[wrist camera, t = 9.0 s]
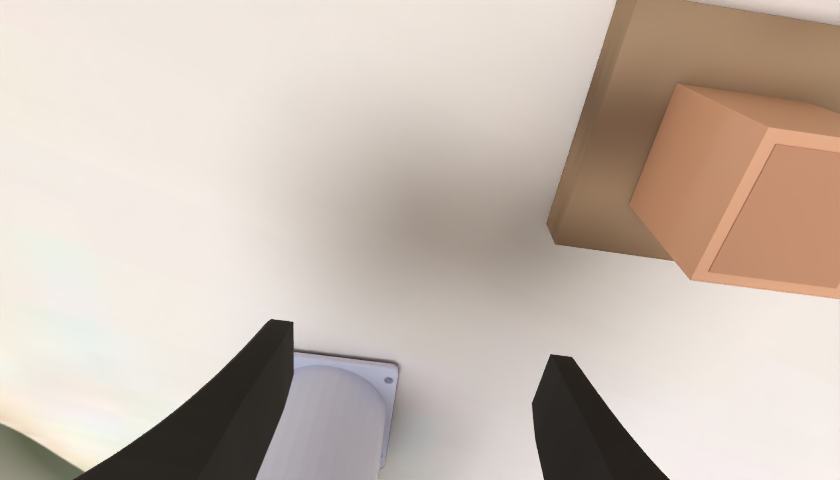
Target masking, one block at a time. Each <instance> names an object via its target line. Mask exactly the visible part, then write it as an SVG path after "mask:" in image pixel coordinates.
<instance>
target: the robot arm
mask: <svg viewBox="0 0 840 480" xmlns="http://www.w3.org/2000/svg"><path fill="white" fill-rule="evenodd" d="M398 372H399V370H398V367H397V366H396V365H394V364H389V363H381V362H373V361H365V360H356V359H348V358H340V357H331V356H323V355H315V354H306V353H298V352H294V340H293V322H290V321H282V320H274V319H271V320H269V321H268V322H267V323H266V324H265V325H264V326H263V327H262V328H261V329H260V331H259V332H258V333H257V334H256V335H255V336H254V337H253V338H252V339H251V340H250V342H249V343H248V344H247V345H246V346H245V347H244V348H243V349H242V350H241V351H240V352H239V353H238V354H237V355H236V356H235V357H234V358H233V359H232V360H231V361H230V362H229V363H228V364H227V365H226V366H225V367H224V368H223V369H222V370H221V371H220V372H219V373H218V374H217V375H216V376H215V377H214V378H212V379H211V380H210V381H209V382H208V383H207V384H206V385H205V386H203V387H202V388H201V389H200V390H199V391H198V392H197V393H196V394H194V395H193V396H192V397H191V398H190V399H189V400H188V401H186V402H185V403H184V404H183V405H181V406H180V407H179V408H178V409H177V410H175V411H174V412H173V413H172V414H170V415H169V416H168V417H166V418H165V419H164V420H162V421H161V422H160V423H159V424H157V425H156V426H155V427H153V428H152V429H150V430H149V431H148V432H146V433H145V434H143V435H142V436H141V437H139V438H138V439H136V440H135V441H133V442H132V443H131V444H129V445H128V446H126V447H125V448H123V449H122V450H120V451H119V452H117V453H116V454H114V455H113V456H111V457H109V458H108V459H106V460H105V461H103V462H101V463H100V464H98V465H96V466H95V467H93V468H91V469H90V470H88V471H87V472H85V473H83V474H82V475H80V476H78V477H77V478H75V479H73V480H378V476H379V469H382V468H383V467H384V465H385V459H386V452H387V446H388V439H389V432H390V426H391V419H392V413H393V406H394V400H395V393H396V386H397V380H398ZM387 377H390V379H389V378H387ZM532 410H533V422H534V431H535V440H536V445H537V449H538V454H539V459H540V463H541V468H542V472H543V477H544V480H670V479H669V478H668V477H667V476H666V475H665V474H664V473H663V472H662V471H661V470H660V469H659V468H658V467H657V466H656V465H655V464H654V462H653V461H652V460H651V459H650V458H649V457H648V456H647V455H646V453H645V452H644V451H643V450H642V449H641V447H640V446H639V445H638V444H637V443H636V442H635V440H634V439H633V438H632V437H631V436H630V434H629V433H628V432H627V431H626V429H625V428H624V427H623V426H622V424H621V423H620V422H619V421H618V419H617V418H616V417H615V415H614V414H613V413H612V411H611V410H610V409H609V407H608V406H607V405H606V403H605V402H604V401H603V399H602V398H601V397H600V395H599V394H598V393H597V391H596V390H595V388H594V387H593V386H592V384H591V383H590V381H589V380H588V379H587V377H586V376H585V374H584V373H583V372H582V370H581V369H580V367H579V366H578V365H577V363H576V362H575V361H574V359H573V358H572V357H568V356H560V355H552V354H550V357H549V360H548V362H547V365H546V368H545V370H544V373H543V376H542V378H541V381H540V383H539V386H538V389H537V391H536V394H535V397H534V399H533V402H532Z"/></svg>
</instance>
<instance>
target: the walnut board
mask: <svg viewBox="0 0 840 480" xmlns="http://www.w3.org/2000/svg"><path fill="white" fill-rule="evenodd" d="M677 83H680V84H687V85H694V86H701V87H708V88H714V89H721V90H728V91H735V92H742V93H748V94H755V95H762V96H769V97H776V98H783V99H789V100H796V101H803V102H808V103H811V104H814V105H816V106H819V107H822V108H825V109H827V110H830V111H833V112H836V113H838V114H840V26H836V25H830V24H824V23H818V22H812V21H806V20H800V19H794V18H787V17H781V16H775V15H769V14H763V13H757V12H751V11H745V10H739V9H733V8H727V7H721V6H715V5H709V4H703V3H696V2H690V1H684V0H617V2H616V6H615V9H614V12H613V15H612V18H611V21H610V25H609V28H608V31H607V34H606V37H605V40H604V44H603V47H602V50H601V53H600V56H599V59H598V62H597V66H596V69H595V72H594V75H593V78H592V81H591V85H590V88H589V91H588V94H587V97H586V100H585V104H584V107H583V110H582V113H581V116H580V119H579V123H578V126H577V129H576V132H575V135H574V138H573V142H572V145H571V148H570V151H569V154H568V157H567V161H566V164H565V167H564V170H563V173H562V176H561V180H560V183H559V186H558V189H557V192H556V195H555V198H554V202H553V205H552V208H551V211H550V214H549V217H548V221H547V226H548V228H549V231H550V233H551V235H552V238H553V240H554V243H555V244H557V245H564V246H571V247H578V248H586V249H593V250H600V251H607V252H614V253H621V254H628V255H635V256H643V257H650V258H657V259H664V260H671V261H674V260H673V258H672V257H671V256H670V255H669V253H668V252H667V251H666V250H665V249H664V247H663V246H662V245H661V244H660V242H659V241H658V240H657V239H656V238H655V236H654V235H653V234H652V233H651V231H650V230H649V229H648V228H647V226H646V225H645V224H644V223H643V222H642V220H641V219H640V218H639V217H638V215H637V214H636V213H635V212H634V211H633V209H632V208H631V207H630V206H629V203H630V201H631V198H632V196H633V193H634V191H635V188H636V185H637V183H638V180H639V178H640V175H641V173H642V170H643V168H644V165H645V163H646V160H647V158H648V155H649V152H650V150H651V147H652V145H653V142H654V140H655V137H656V135H657V132H658V130H659V127H660V125H661V122H662V120H663V117H664V114H665V112H666V109H667V107H668V104H669V102H670V99H671V97H672V94H673V92H674V89H675V87H676V84H677Z"/></svg>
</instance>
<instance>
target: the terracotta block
mask: <svg viewBox="0 0 840 480" xmlns="http://www.w3.org/2000/svg"><path fill="white" fill-rule="evenodd" d="M629 206H630V207H631V208H632V209H633V211H634V212H635V213H636V214H637V215H638V217H639V218H640V219H641V220H642V222H643V223H644V224H645V225H646V226H647V228H648V229H649V230H650V231H651V233H652V234H653V235H654V236H655V238H656V239H657V240H658V241H659V242H660V244H661V245H662V246H663V247H664V249H665V250H666V251H667V252H668V253H669V255H670V256H671V257H672V258H673V260H674V261H675V262H676V263H677V264H678V266H679V267H680V268H681V269H682V271H683V272H684V273H685V274H686V275H687V277H688V278H689V279H690V280H693V281H701V282H709V283H717V284H724V285H732V286H740V287H748V288H756V289H764V290H771V291H779V292H787V293H795V294H803V295H811V296H819V297H826V298H834V299H840V114H838V113H836V112H833V111H830V110H827V109H825V108H822V107H819V106H816V105H814V104H811V103H808V102H803V101H796V100H789V99H783V98H776V97H769V96H762V95H755V94H748V93H742V92H735V91H728V90H721V89H714V88H708V87H701V86H694V85H687V84H680V83H677V84H676V87H675V89H674V92H673V94H672V97H671V99H670V102H669V104H668V107H667V109H666V112H665V114H664V117H663V120H662V122H661V125H660V127H659V130H658V132H657V135H656V137H655V140H654V142H653V145H652V147H651V150H650V152H649V155H648V158H647V160H646V163H645V165H644V168H643V170H642V173H641V175H640V178H639V180H638V183H637V185H636V188H635V191H634V193H633V196H632V198H631V201H630V203H629Z"/></svg>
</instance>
